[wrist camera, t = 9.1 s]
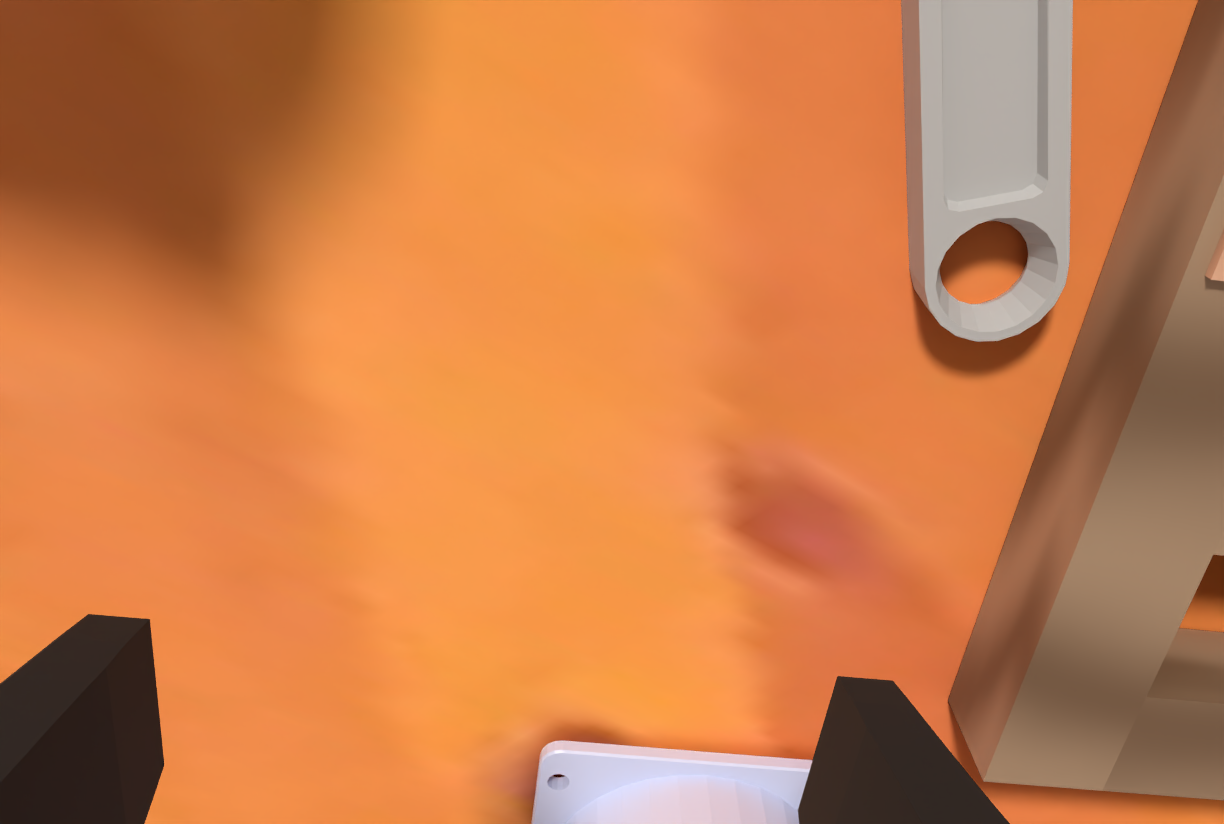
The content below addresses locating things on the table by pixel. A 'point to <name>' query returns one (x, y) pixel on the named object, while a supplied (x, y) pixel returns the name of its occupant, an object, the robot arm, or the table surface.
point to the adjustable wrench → (988, 148)
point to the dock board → (1124, 499)
